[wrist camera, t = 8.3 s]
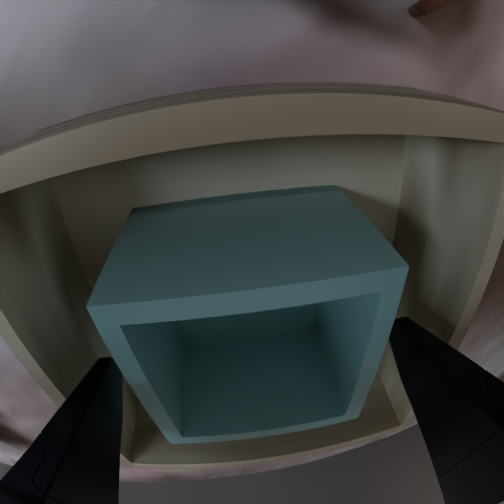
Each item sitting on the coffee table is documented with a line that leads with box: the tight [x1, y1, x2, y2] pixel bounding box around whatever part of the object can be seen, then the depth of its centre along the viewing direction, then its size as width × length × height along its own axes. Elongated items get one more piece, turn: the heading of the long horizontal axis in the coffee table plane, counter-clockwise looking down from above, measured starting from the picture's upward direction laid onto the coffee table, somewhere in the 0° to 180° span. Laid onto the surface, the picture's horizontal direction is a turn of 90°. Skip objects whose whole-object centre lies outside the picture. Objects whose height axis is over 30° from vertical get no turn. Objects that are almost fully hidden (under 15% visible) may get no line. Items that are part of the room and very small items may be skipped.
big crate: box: [0, 82, 504, 469], centre depth 10 cm, size 14×14×6 cm
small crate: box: [86, 185, 409, 444], centre depth 10 cm, size 7×7×5 cm
